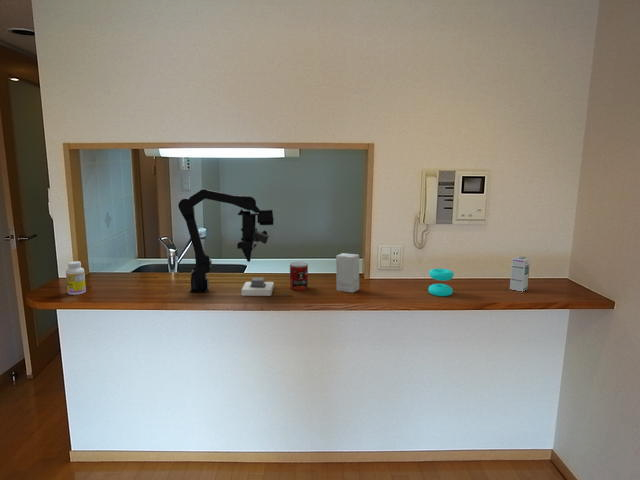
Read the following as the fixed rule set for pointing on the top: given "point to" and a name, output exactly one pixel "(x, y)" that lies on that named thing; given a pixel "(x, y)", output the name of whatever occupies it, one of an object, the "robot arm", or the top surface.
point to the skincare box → (347, 272)
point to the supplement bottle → (75, 278)
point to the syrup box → (519, 273)
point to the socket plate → (257, 289)
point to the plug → (258, 283)
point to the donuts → (441, 288)
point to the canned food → (298, 276)
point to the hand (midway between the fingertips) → (248, 261)
